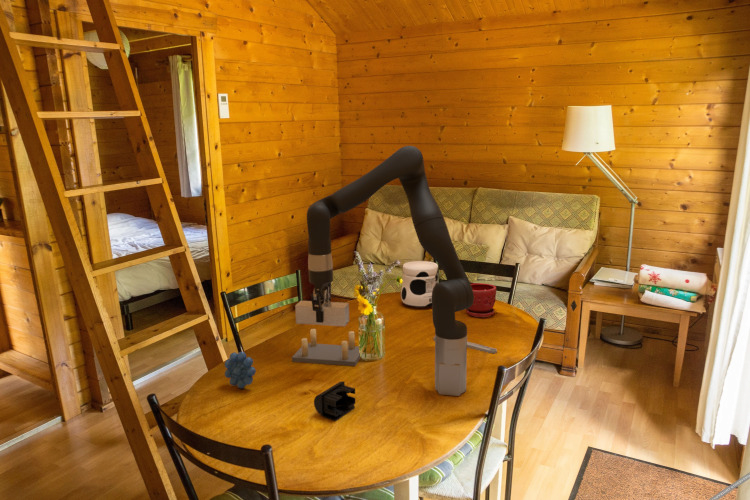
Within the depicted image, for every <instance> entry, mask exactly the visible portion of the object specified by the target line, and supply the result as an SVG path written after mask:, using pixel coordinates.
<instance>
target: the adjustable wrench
mask: <svg viewBox="0 0 750 500" xmlns="http://www.w3.org/2000/svg"><path fill="white" fill-rule="evenodd" d="M433 341H434V342H435V336H433ZM467 348H468V349H473V350H475V349H476V351H479V350H480V351H479V352H483V351H484V353H487V352H488V353H487V354H490V353H493V354H492V355H496V354H498V353H497V352H498V349H497V348H493V347H489V346H485V345H482V344H478V343H475V342H470V341H467ZM495 353H496V354H495Z"/></svg>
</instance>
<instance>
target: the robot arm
mask: <svg viewBox="0 0 750 500" xmlns="http://www.w3.org/2000/svg"><path fill="white" fill-rule="evenodd" d="M425 169H426V168H425V161H424V156H423V153H422V151H421V150H420V149H419V148H418V147H416V146H413V145H405V146H402V147H401V148H398V149H397V150H396V151H394V153H392V154H391V155H390V156H388V158H386V159H385V160H384V161H383V162H381V163H380V164H378V165H377V166H375V167H374V168H372V169H371V170H370V171H368V172H367V173H365V174H364V175H362V176H361V177H359V178H357V179H356V180H353V181H352V182H350V183H349V184H347V185H345V186H343V187H341V188H340V189H338V190H337V191H335V192H333V193H332V194H329V195H327V196H325V197H323V198H321V199H318V200H317V201H315V202H313V203H312V204H310V205H309V206H308V209H307V211H306V224H307V234H308V240H307V241H308V242H307V246H308V251H307V252H308V259H307V264H308V265H307V268H308V270H307V271H308V282H309V283H310V284H312V285H314V288H313V293H311V294H310V297H311V298H310V299H311V300H310V301H312V307H313V311H316V322H318V323H322V322H323V321H324V319H323V306H324V304H325V302H332V301H331V300H332V295H331V294H332V282H333V281H334V269H333V268H334V267H333V266H334V265H333V264H334V263H333V257H332V256H333V255H332V239H331V219H333V218H335V217H336V216H338V215H340V214H344V213H347V212H349V211H351V210H353V209H355V208H356V207H358V206H360V205H361V204H363V203H365V202H366V201H367V200H369V199H371V197H373V196H374V195H375V194H376V193H377V192H378V191H379V190H381V189H382V188H383V187H384V186H386V185H387V184H389V183H391V182H392V181H394V180H397V179H398V180H399V182H400V184H401V186H402V188H403V191H404V193H405V195H406V198H407V201H408V204H409V205H408V206H409V211H410V212H409V213H410V216H411V220H412V224H413V228H414V230H415V231H414V232H415V234H416V237H417V240H418V242H419V244H420V245H421V246H420V247H421V248H423V250H424V251H426V253H427V254H428V255H429V256H431V257H432V259H433V260H435V261H436V263H438V266H440V268H441V269H442V271H443V273H444V276H445V278H446V280H444V281H439V282H438V283H437V284H436V285H435V286H434V288H433V291H432V306H431V310H432V325H433V327H434V337H435V341H434V389H435V391H436V392H438V395H443V396H453V397H455V396H456V397H460V396H461V395H462V394H464V393H465V392H467V363H468V362H467V359H468V358H467V355H468V350H467V348H468V347H467V342H468V327H467V324H466V323H465V322H463V321H461V320H458V319H457V320H456V313H457V312H461V311H464V310H465V311H466V309H468V308H470V307H471V306H472V304H473V301H474V294H473V290H472V287H471V284H472V283H471V282H470V280H469V276H467V273H466V271H465V269H464V266H463V265H462V263H461V261H460V259H459V256H458V254H457V251H456V249H455V246H454V243H453V240H452V238H451V235H450V232H449V229H448V225H447V222H446V220H445V217H444V214H443V213H442V210H441V208H440V206H439V205H438V203H437V201H436V199H435V198H434V196H433V193H432V192H431V190H430V187H429V182H428V179H427V174H426V170H425ZM317 306H319V307H317Z"/></svg>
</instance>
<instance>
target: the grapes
mask: <svg viewBox="0 0 750 500" xmlns="http://www.w3.org/2000/svg"><path fill="white" fill-rule="evenodd" d="M228 358H229V359H226V360H225V362H224V367H225V371H224V376H225V378H227V379H229V384H230V385H231V386H232V387H235V386H237V388H238V389H245V387H246V386H250V385H252V383H253V382H254V381H253V380H254V378H253V376H255V374H256V368H255V367H254V366H253V363H254V360H253V358H252V357H251V356H250V357H249V356H247V354H246V353H245V351H239V352H232V353H231V354H230V355H229V357H228Z"/></svg>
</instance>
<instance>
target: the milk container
mask: <svg viewBox="0 0 750 500" xmlns="http://www.w3.org/2000/svg"><path fill="white" fill-rule="evenodd" d="M437 283H439V264H437V262H433V261H429V260H413V261H407V262H405V263H403V265H402V286H401V290H400V299H401V301H402V304H403V305H406V306H408V307H411V308H419V309H421V308H424V309H425V308H432V291H433V288H434V286H435V285H436V284H437Z"/></svg>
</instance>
